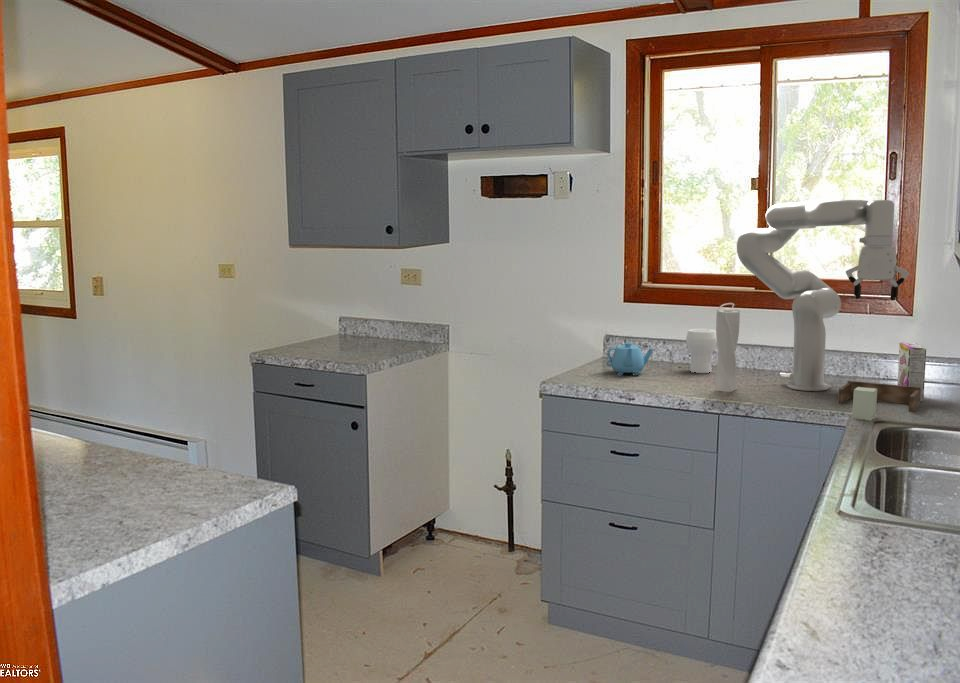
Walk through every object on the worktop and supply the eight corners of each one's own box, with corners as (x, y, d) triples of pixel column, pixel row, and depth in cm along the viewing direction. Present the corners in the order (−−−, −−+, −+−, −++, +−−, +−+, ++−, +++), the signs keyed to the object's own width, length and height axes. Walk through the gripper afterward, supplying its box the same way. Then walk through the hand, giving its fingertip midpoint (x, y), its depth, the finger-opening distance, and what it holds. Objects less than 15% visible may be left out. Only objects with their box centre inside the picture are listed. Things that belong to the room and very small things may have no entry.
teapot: (657, 374, 302) (658, 343, 301) (629, 379, 294) (630, 346, 293) (627, 368, 315) (627, 338, 313) (599, 372, 307) (599, 342, 305)
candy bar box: (895, 394, 264) (898, 342, 261) (912, 394, 263) (916, 342, 260) (905, 401, 253) (909, 347, 251) (924, 402, 252) (927, 347, 250)
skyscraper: (719, 386, 279) (721, 302, 275) (741, 388, 275) (744, 303, 271) (710, 390, 273) (712, 304, 269) (733, 393, 268) (736, 305, 264)
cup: (679, 371, 307) (680, 330, 305) (696, 367, 314) (697, 327, 312) (705, 375, 299) (706, 333, 297) (721, 371, 306) (722, 330, 304)
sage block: (852, 418, 234) (853, 389, 232) (856, 414, 238) (857, 386, 236) (871, 420, 231) (873, 391, 230) (875, 417, 235) (877, 388, 234)
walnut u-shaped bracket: (838, 404, 251) (838, 387, 250) (847, 396, 261) (848, 380, 260) (912, 412, 240) (913, 394, 239) (919, 404, 249) (920, 387, 248)
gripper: (844, 242, 254) (841, 299, 256) (908, 242, 244) (904, 301, 246) (850, 241, 260) (847, 297, 263) (912, 241, 250) (909, 299, 253)
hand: (875, 299), depth 254 cm, fingers open, 9 cm apart
